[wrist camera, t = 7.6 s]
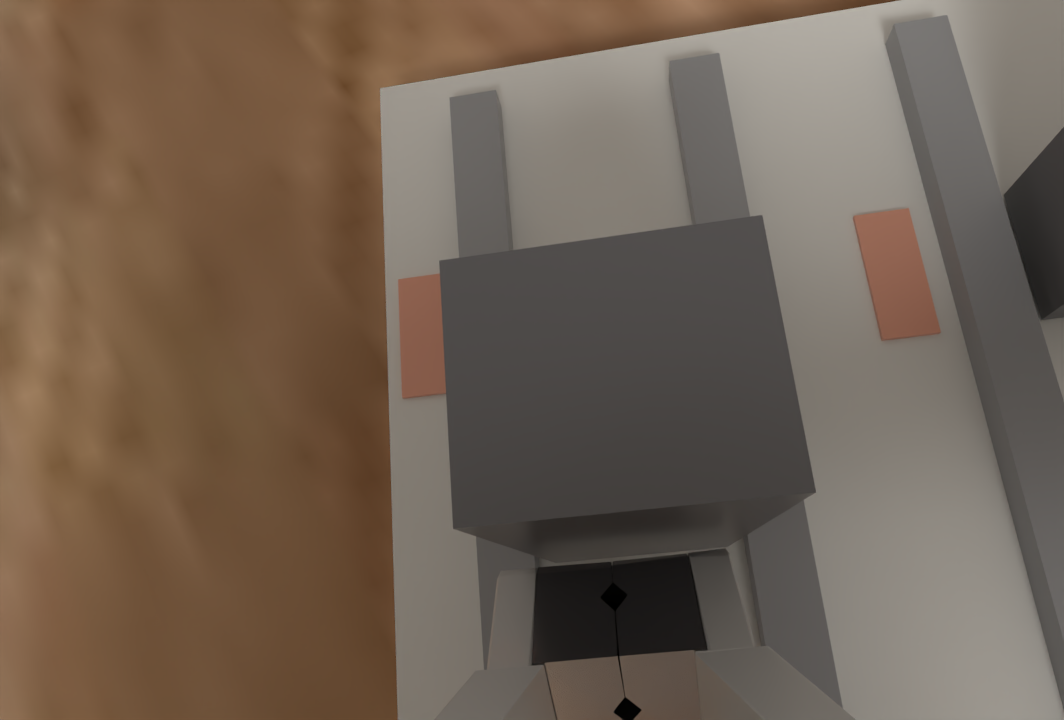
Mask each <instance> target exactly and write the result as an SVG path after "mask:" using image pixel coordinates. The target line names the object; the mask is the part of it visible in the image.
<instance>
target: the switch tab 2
mask: <svg viewBox="0 0 1064 720" xmlns="http://www.w3.org/2000/svg"><path fill="white" fill-rule="evenodd" d="M1004 198H1005V201H1006V204H1007V208H1008V211H1009V214H1010V218H1011V221H1012V224H1013V228H1014V231H1015V234H1016V237H1017V241H1018V244H1019V247H1020V251H1021V254H1022V257H1023V261H1024V264H1025V267H1026V271H1027V274H1028V277H1029V280H1030V284H1031V287H1032V290H1033V294H1034V297H1035V300H1036V304H1037V307H1038V310H1039V313H1040V317H1041V320H1046V319H1054V318H1062V317H1064V127H1063V128H1062V129H1061V131H1060V132H1059V133H1058V134H1057V135H1056V136H1055V137H1054V138H1053V140H1052V141H1051V142H1050V143H1049V144H1048V145H1047V146H1046V148H1045V149H1044V150H1043V151H1042V152H1041V153H1040V154H1039V155H1038V157H1037V158H1036V159H1035V160H1034V161H1033V162H1032V163H1031V164H1030V166H1029V167H1028V168H1027V169H1026V170H1025V171H1024V172H1023V174H1022V175H1021V176H1020V177H1019V178H1018V179H1017V180H1016V181H1015V183H1014V184H1013V185H1012V186H1011V187H1010V188H1009V189H1008V190H1007V192H1006V193H1005V194H1004Z"/></svg>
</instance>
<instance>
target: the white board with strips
mask: <svg viewBox="0 0 1064 720" xmlns="http://www.w3.org/2000/svg"><path fill="white" fill-rule="evenodd" d="M380 109H381V144H382V179H383V215H384V250H385V285H386V320H387V355H388V391H389V426H390V461H391V496H392V532H393V567H394V602H395V637H396V672H397V708H398V720H434V719H435V718H436V717H437V716H438V715H439V713H440V712H441V711H442V710H443V709H444V707H445V706H446V705H447V704H448V703H449V702H450V700H451V699H452V698H453V697H454V696H455V694H456V693H457V692H458V691H459V690H460V689H461V687H462V686H463V685H464V684H465V683H466V681H467V680H468V679H469V678H470V677H471V676H472V674H473V673H474V672H475V671H478V670H487V663H488V654H489V645H490V637H491V628H492V619H493V610H494V601H495V592H496V583H497V578H498V576H499V574H500V572H501V571H504V570H518V569H533V568H538V567H548V566H561V565H574V564H587V563H601V562H612V563H613V561H621V560H630V559H639V558H649V557H658V556H667V555H676V554H687V555H688V553H690V552H699V551H707V550H716V549H725V548H726V549H727V551H728V552H729V553H730V556H731V559H732V563H733V567H734V570H735V574H736V577H737V581H738V585H739V588H740V592H741V595H742V599H743V603H744V606H745V610H746V614H747V617H748V621H749V624H750V628H751V632H752V635H753V639H754V642H755V646H756V647H757V646H769V647H770V648H771V649H772V650H773V651H775V652H776V653H777V654H778V655H779V656H781V657H782V658H783V659H784V660H785V661H787V662H788V663H789V664H790V665H791V666H793V667H794V668H795V669H796V670H797V671H799V672H800V673H801V674H802V675H803V676H805V677H806V678H807V679H808V680H809V681H810V682H812V683H813V684H814V685H815V686H816V687H818V688H819V689H820V690H821V691H822V692H824V693H825V694H826V695H827V696H828V697H830V698H831V699H832V700H833V701H834V702H836V703H837V704H838V705H839V706H840V707H841V708H843V709H844V710H845V711H846V712H847V713H849V714H850V715H851V716H852V717H853V718H855V719H856V720H1064V317H1062V318H1054V319H1046V320H1041V317H1040V313H1039V310H1038V307H1037V304H1036V300H1035V297H1034V294H1033V290H1032V287H1031V284H1030V280H1029V277H1028V274H1027V271H1026V267H1025V264H1024V261H1023V257H1022V254H1021V251H1020V247H1019V244H1018V241H1017V237H1016V234H1015V231H1014V228H1013V224H1012V221H1011V218H1010V214H1009V211H1008V208H1007V204H1006V201H1005V198H1004V194H1005V193H1006V192H1007V190H1008V189H1009V188H1010V187H1011V186H1012V185H1013V184H1014V183H1015V181H1016V180H1017V179H1018V178H1019V177H1020V176H1021V175H1022V174H1023V172H1024V171H1025V170H1026V169H1027V168H1028V167H1029V166H1030V164H1031V163H1032V162H1033V161H1034V160H1035V159H1036V158H1037V157H1038V155H1039V154H1040V153H1041V152H1042V151H1043V150H1044V149H1045V148H1046V146H1047V145H1048V144H1049V143H1050V142H1051V141H1052V140H1053V138H1054V137H1055V136H1056V135H1057V134H1058V133H1059V132H1060V131H1061V129H1062V128H1063V127H1064V0H899V1H893V2H887V3H881V4H875V5H869V6H864V7H858V8H852V9H846V10H840V11H834V12H828V13H822V14H816V15H810V16H804V17H799V18H793V19H787V20H781V21H775V22H769V23H763V24H757V25H751V26H745V27H739V28H733V29H728V30H722V31H716V32H710V33H704V34H698V35H692V36H686V37H680V38H674V39H668V40H663V41H657V42H651V43H645V44H639V45H633V46H627V47H621V48H615V49H609V50H603V51H597V52H592V53H586V54H580V55H574V56H568V57H562V58H556V59H550V60H544V61H538V62H532V63H527V64H521V65H515V66H509V67H503V68H497V69H491V70H485V71H479V72H473V73H467V74H462V75H456V76H450V77H444V78H438V79H432V80H426V81H420V82H414V83H408V84H402V85H396V86H391V87H385V88H380ZM758 215H762V216H763V221H764V226H765V231H766V237H767V242H768V247H769V252H770V257H771V262H772V267H773V273H774V278H775V283H776V288H777V293H778V298H779V303H780V309H781V314H782V319H783V324H784V329H785V334H786V339H787V345H788V350H789V355H790V360H791V365H792V370H793V376H794V381H795V386H796V391H797V396H798V401H799V406H800V412H801V417H802V422H803V427H804V432H805V437H806V442H807V448H808V453H809V458H810V463H811V468H812V473H813V478H814V484H815V489H816V493H814V494H813V495H811V496H809V497H808V498H806V499H805V500H803V501H801V502H800V503H798V504H796V505H795V506H793V507H792V508H790V509H788V510H787V511H785V512H783V513H782V514H780V515H779V516H777V517H775V518H774V519H772V520H770V521H769V522H767V523H766V524H764V525H762V526H761V527H759V528H757V529H756V530H754V531H752V532H751V533H749V534H748V535H746V536H744V537H743V538H741V539H739V540H738V541H736V542H735V543H733V544H731V545H730V546H728V547H720V548H709V549H699V550H688V551H677V552H667V553H656V554H645V555H635V556H624V557H613V558H603V559H592V560H581V561H571V562H560V563H554V562H551V561H548V560H545V559H542V558H539V557H536V556H533V555H530V554H527V553H524V552H521V551H518V550H515V549H512V548H509V547H506V546H503V545H500V544H497V543H494V542H491V541H488V540H485V539H482V538H479V537H476V536H473V535H470V534H467V533H464V532H461V531H458V530H455V529H453V518H452V498H451V479H450V460H449V440H448V421H447V402H446V382H445V363H444V344H443V324H442V305H441V286H440V266H439V261H440V260H447V259H454V258H461V257H468V256H475V255H482V254H490V253H497V252H504V251H511V250H518V249H525V248H532V247H539V246H546V245H553V244H560V243H567V242H574V241H581V240H589V239H596V238H603V237H610V236H617V235H624V234H631V233H638V232H645V231H652V230H659V229H666V228H673V227H680V226H688V225H695V224H702V223H709V222H716V221H723V220H730V219H737V218H744V217H751V216H758Z"/></svg>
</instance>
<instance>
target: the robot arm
mask: <svg viewBox="0 0 1064 720" xmlns="http://www.w3.org/2000/svg"><path fill="white" fill-rule="evenodd" d="M434 720H856V719H855V718H853V717H852V716H851V715H850V714H849V713H847V712H846V711H845V710H844V709H843V708H841V707H840V706H839V705H838V704H837V703H836V702H834V701H833V700H832V699H831V698H830V697H828V696H827V695H826V694H825V693H824V692H822V691H821V690H820V689H819V688H818V687H816V686H815V685H814V684H813V683H812V682H810V681H809V680H808V679H807V678H806V677H805V676H803V675H802V674H801V673H800V672H799V671H797V670H796V669H795V668H794V667H793V666H791V665H790V664H789V663H788V662H787V661H785V660H784V659H783V658H782V657H781V656H779V655H778V654H777V653H776V652H775V651H773V650H772V649H771V648H770V647H769V646H757V647H756V646H755V642H754V639H753V635H752V632H751V628H750V624H749V621H748V617H747V614H746V610H745V606H744V603H743V599H742V595H741V592H740V588H739V585H738V581H737V577H736V574H735V570H734V567H733V563H732V559H731V556H730V553H729V552H728V551H727V549H726V548H725V549H716V550H707V551H699V552H690V553H688V555H687V554H676V555H667V556H658V557H649V558H639V559H630V560H621V561H613V563H612V562H601V563H587V564H574V565H561V566H548V567H538V568H533V569H518V570H504V571H501V572H500V574H499V576H498V578H497V583H496V592H495V601H494V610H493V619H492V628H491V637H490V645H489V654H488V663H487V670H478V671H475V672H474V673H473V674H472V676H471V677H470V678H469V679H468V680H467V681H466V683H465V684H464V685H463V686H462V687H461V689H460V690H459V691H458V692H457V693H456V694H455V696H454V697H453V698H452V699H451V700H450V702H449V703H448V704H447V705H446V706H445V707H444V709H443V710H442V711H441V712H440V713H439V715H438V716H437V717H436V718H435V719H434Z"/></svg>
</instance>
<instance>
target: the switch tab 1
mask: <svg viewBox="0 0 1064 720" xmlns="http://www.w3.org/2000/svg"><path fill="white" fill-rule="evenodd" d="M439 266H440V286H441V305H442V324H443V344H444V363H445V382H446V402H447V421H448V440H449V460H450V479H451V498H452V518H453V529H455V530H458V531H461V532H464V533H467V534H470V535H473V536H476V537H479V538H482V539H485V540H488V541H491V542H494V543H497V544H500V545H503V546H506V547H509V548H512V549H515V550H518V551H521V552H524V553H527V554H530V555H533V556H536V557H539V558H542V559H545V560H548V561H551V562H554V563H560V562H571V561H581V560H592V559H603V558H613V557H624V556H635V555H645V554H656V553H667V552H677V551H688V550H699V549H709V548H720V547H728V546H730V545H731V544H733V543H735V542H736V541H738V540H739V539H741V538H743V537H744V536H746V535H748V534H749V533H751V532H752V531H754V530H756V529H757V528H759V527H761V526H762V525H764V524H766V523H767V522H769V521H770V520H772V519H774V518H775V517H777V516H779V515H780V514H782V513H783V512H785V511H787V510H788V509H790V508H792V507H793V506H795V505H796V504H798V503H800V502H801V501H803V500H805V499H806V498H808V497H809V496H811V495H813V494H814V493H816V489H815V484H814V478H813V473H812V468H811V463H810V458H809V453H808V448H807V442H806V437H805V432H804V427H803V422H802V417H801V412H800V406H799V401H798V396H797V391H796V386H795V381H794V376H793V370H792V365H791V360H790V355H789V350H788V345H787V339H786V334H785V329H784V324H783V319H782V314H781V309H780V303H779V298H778V293H777V288H776V283H775V278H774V273H773V267H772V262H771V257H770V252H769V247H768V242H767V237H766V231H765V226H764V221H763V216H762V215H758V216H751V217H744V218H737V219H730V220H723V221H716V222H709V223H702V224H695V225H688V226H680V227H673V228H666V229H659V230H652V231H645V232H638V233H631V234H624V235H617V236H610V237H603V238H596V239H589V240H581V241H574V242H567V243H560V244H553V245H546V246H539V247H532V248H525V249H518V250H511V251H504V252H497V253H490V254H482V255H475V256H468V257H461V258H454V259H447V260H440V261H439Z"/></svg>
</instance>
